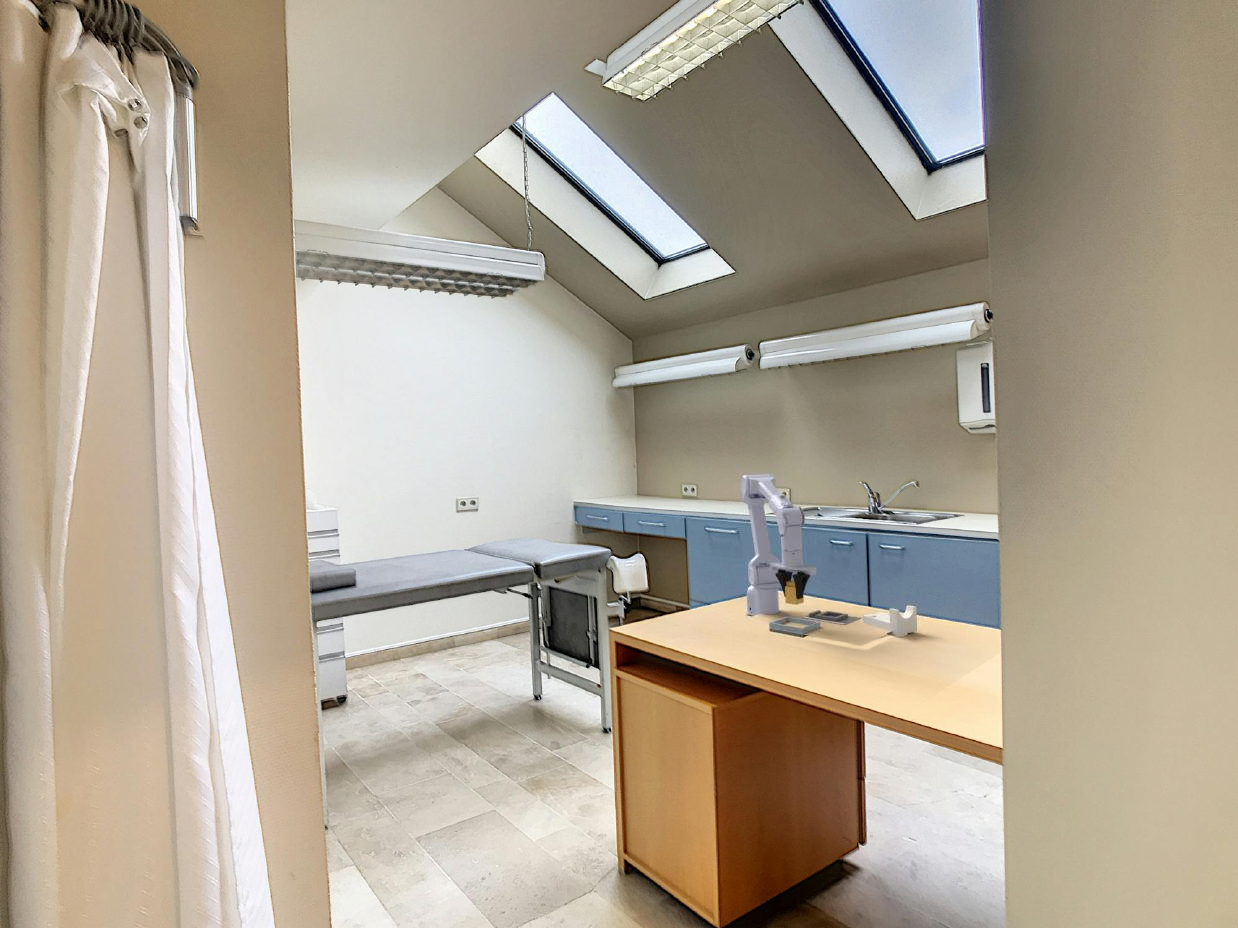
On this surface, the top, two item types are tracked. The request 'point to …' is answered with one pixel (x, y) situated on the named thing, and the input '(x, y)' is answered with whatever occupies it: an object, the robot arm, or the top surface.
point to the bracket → (894, 621)
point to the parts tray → (779, 625)
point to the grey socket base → (831, 617)
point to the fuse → (792, 594)
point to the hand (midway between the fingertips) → (793, 597)
